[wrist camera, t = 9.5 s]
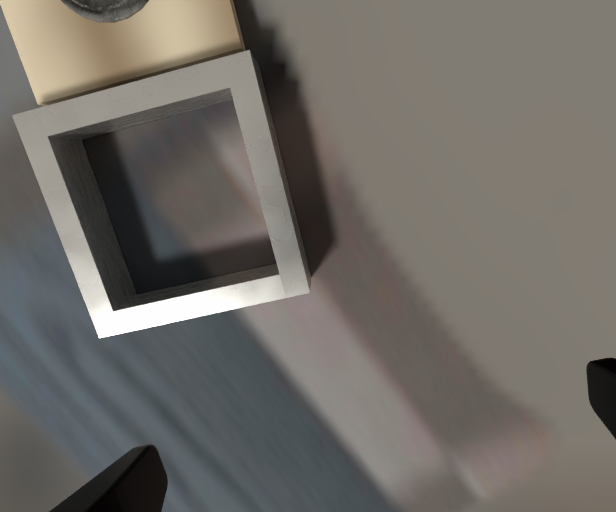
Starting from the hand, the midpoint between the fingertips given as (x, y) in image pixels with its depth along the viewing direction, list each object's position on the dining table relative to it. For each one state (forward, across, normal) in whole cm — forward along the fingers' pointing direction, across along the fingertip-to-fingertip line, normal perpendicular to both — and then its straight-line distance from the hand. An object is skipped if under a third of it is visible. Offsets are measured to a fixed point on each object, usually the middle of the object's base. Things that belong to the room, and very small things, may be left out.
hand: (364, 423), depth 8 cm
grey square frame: (+13, +7, -5) cm, 16 cm away
